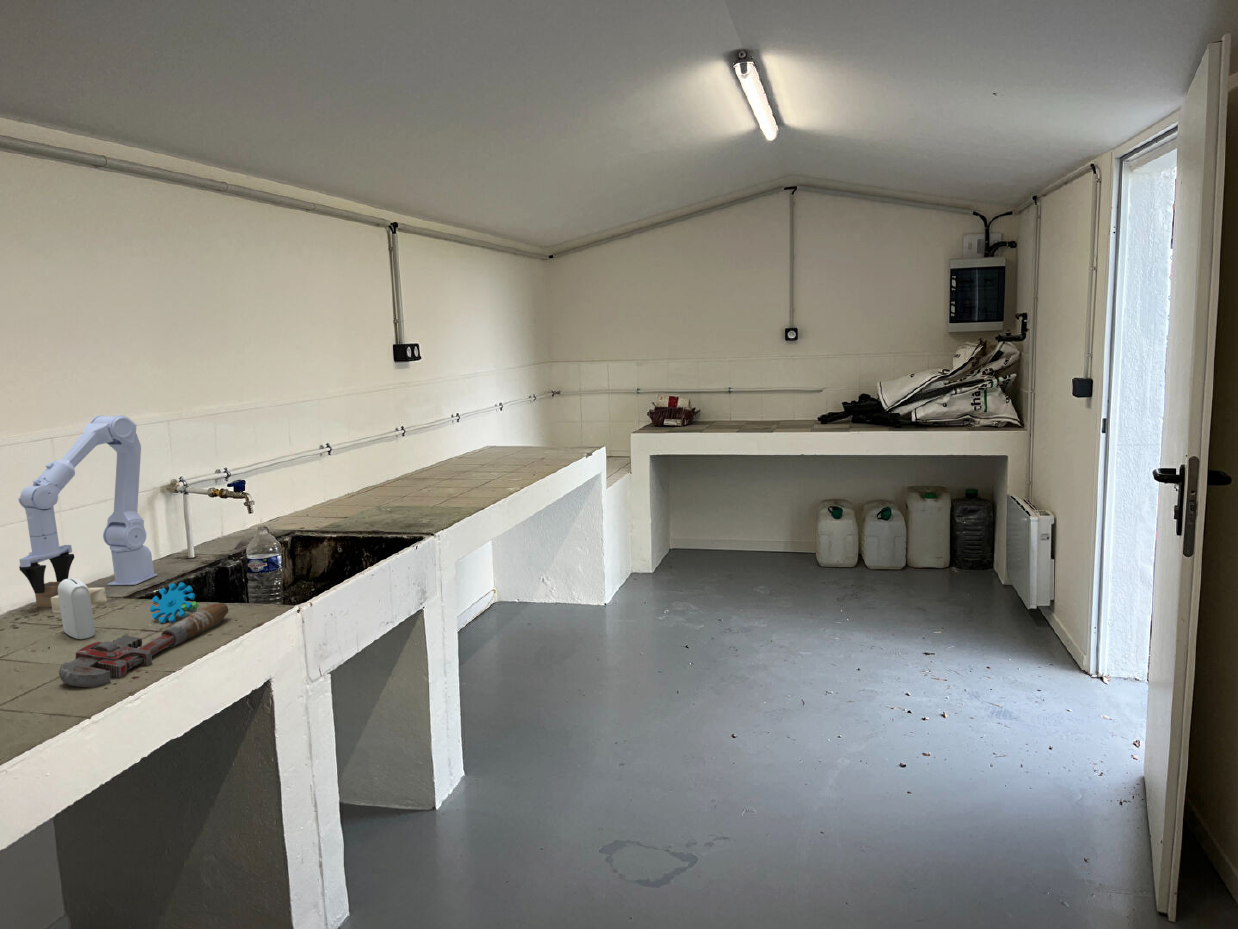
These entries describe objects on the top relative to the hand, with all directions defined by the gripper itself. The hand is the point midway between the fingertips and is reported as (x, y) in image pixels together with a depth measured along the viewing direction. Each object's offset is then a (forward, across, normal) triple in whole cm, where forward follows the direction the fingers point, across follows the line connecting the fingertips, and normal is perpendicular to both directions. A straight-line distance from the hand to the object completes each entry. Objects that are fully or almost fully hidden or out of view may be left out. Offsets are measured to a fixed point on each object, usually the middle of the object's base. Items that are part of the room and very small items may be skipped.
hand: (51, 588), depth 220 cm
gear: (+4, +13, +41) cm, 43 cm away
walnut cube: (+4, 0, 0) cm, 4 cm away
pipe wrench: (+4, +33, +49) cm, 59 cm away
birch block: (+4, +3, +10) cm, 11 cm away
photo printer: (+4, +23, +25) cm, 34 cm away
